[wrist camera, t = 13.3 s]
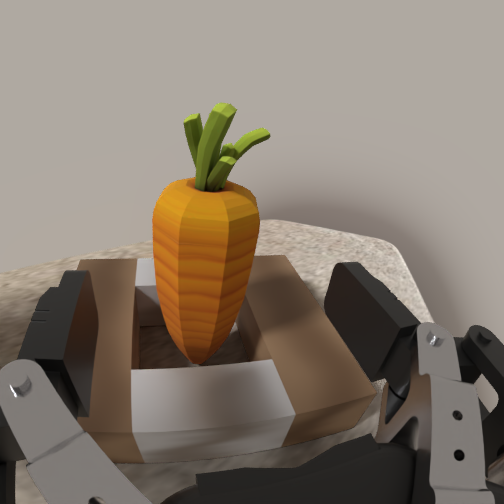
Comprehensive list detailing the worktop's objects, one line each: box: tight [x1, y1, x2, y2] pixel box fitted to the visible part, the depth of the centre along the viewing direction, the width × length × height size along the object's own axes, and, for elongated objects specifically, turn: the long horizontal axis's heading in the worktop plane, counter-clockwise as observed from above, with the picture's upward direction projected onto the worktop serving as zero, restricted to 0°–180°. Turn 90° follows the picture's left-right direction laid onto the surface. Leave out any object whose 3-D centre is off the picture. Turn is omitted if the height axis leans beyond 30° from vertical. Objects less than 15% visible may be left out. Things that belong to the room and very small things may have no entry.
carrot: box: [152, 103, 270, 364], centre depth 15 cm, size 5×5×15 cm
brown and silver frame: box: [77, 255, 377, 463], centre depth 18 cm, size 16×14×4 cm
